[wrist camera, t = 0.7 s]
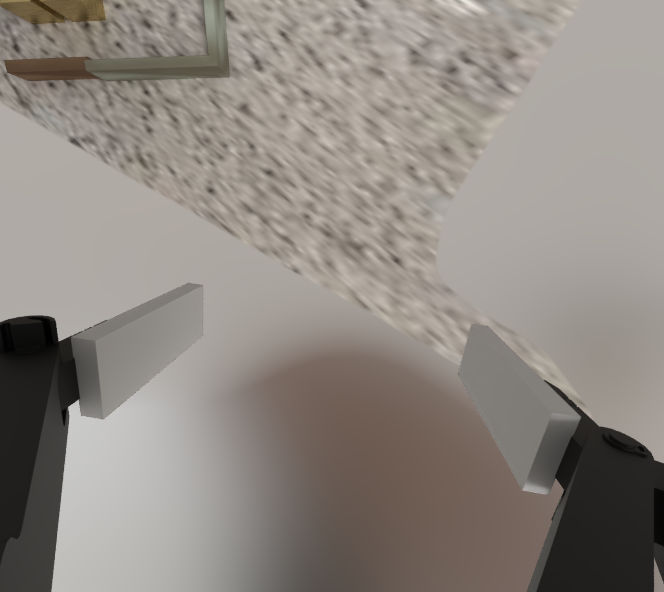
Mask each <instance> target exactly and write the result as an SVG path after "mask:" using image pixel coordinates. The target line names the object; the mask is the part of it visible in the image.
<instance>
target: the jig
mask: <svg viewBox="0 0 664 592" xmlns="http://www.w3.org/2000/svg"><path fill="white" fill-rule="evenodd" d="M203 2H204V13H205V24H206V35H207V47H208V55H201V56H176V57H151V58H125V59H100V60H92V59H90V58H88V57H71V58H46V59H22V60H4V61H5V65H6V69H7V73H10V74H13V75H15V76H18V77H20V78H23V79H26V80H28V81H41V80H70V79H99V78H102V79H104V80H106V81H127V80H157V79H187V78H216V77H230V74H229V61H228V47H227V34H226V21H225V7H224V0H203Z"/></svg>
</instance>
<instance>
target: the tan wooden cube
mask: <svg viewBox="0 0 664 592" xmlns="http://www.w3.org/2000/svg"><path fill="white" fill-rule="evenodd" d="M0 6H1V7H3V8H5V9H7V10H9V11H10V12H12V13H14V14H16V15H18V16H19V17H21V18H23V19H25V20H27V21H28V22H30V23H32V24H43V23H63V22H65V20H64V16H63V15H61V14H60V13H58V12H57V11H55V10H53V9H52V8H50V7H49V6H47V5H46V4H44V3H42V2H41V1H40V0H0Z"/></svg>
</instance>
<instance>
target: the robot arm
mask: <svg viewBox="0 0 664 592" xmlns="http://www.w3.org/2000/svg"><path fill="white" fill-rule="evenodd" d="M202 336H203V285H199V284H192V283H187V284H185V285H183V286H181V287H178V288H176V289H174V290H172V291H170V292H168V293H166V294H163V295H161V296H159V297H157V298H155V299H153V300H150V301H148V302H146V303H144V304H141V305H139V306H137V307H135V308H133V309H131V310H128V311H126V312H124V313H122V314H120V315H118V316H115V317H113V318H111V319H109V320H105V321H103V322H101V323H99V324H97V325H95V326H94V327H90V328H88V329H86V330H84V331H81V332H79V333H77V334H75V335H73V336H70V337H68V338H66V339H64V340H62V341H58V334H57V328H56V321H55V319H54V318H52V317H49V316H24V317H17V318H13V319H8V320H5V321H3V322H0V592H51V589H52V579H53V569H54V560H55V550H56V541H57V530H58V521H59V511H60V502H61V492H62V482H63V472H64V464H65V454H66V445H67V435H68V425H69V411H68V406H70V405H71V404H73V403H74V402H76V401H77V400H79V404H80V412H81V416H87V417H93V418H99V419H105V418H106V417H107V416H108V415H109V414H111V413H112V412H113V411H114V410H115V409H116V408H118V407H119V406H120V405H121V404H122V403H124V402H125V401H126V400H127V399H128V398H130V397H131V396H132V395H133V394H134V393H136V392H137V391H138V390H139V389H140V388H141V387H143V386H144V385H145V384H146V383H148V382H149V381H150V380H151V379H152V378H154V377H155V376H156V375H157V374H158V373H160V372H161V371H162V370H163V369H164V368H165V367H167V366H168V365H169V364H170V363H171V362H173V361H174V360H175V359H176V358H177V357H179V356H180V355H181V354H182V353H183V352H185V351H186V350H187V349H188V348H189V347H190V346H192V345H193V344H194V343H195V342H197V341H198V340H199V339H200V338H201V337H202ZM458 376H459V378H460V379H461V381H462V383H463V385H464V387H465V388H466V390H467V392H468V394H469V395H470V397H471V399H472V401H473V402H474V404H475V406H476V408H477V410H478V412H479V413H480V415H481V417H482V419H483V420H484V422H485V424H486V426H487V428H488V429H489V431H490V433H491V435H492V437H493V438H494V440H495V442H496V444H497V445H498V447H499V449H500V451H501V453H502V455H503V456H504V458H505V460H506V462H507V464H508V465H509V467H510V469H511V471H512V473H513V474H514V476H515V478H516V480H517V481H518V483H519V485H520V487H521V489H522V490H524V491H529V492H536V493H542V494H547V495H548V494H549V493H550V490H551V488H552V486H553V483H554V481H555V479H557V480H558V482H559V483H560V485H561V486H562V487H563V489H564V492H563V494H562V497H561V499H560V501H559V503H558V506H557V508H556V510H555V513H554V515H553V517H552V524H551V526H550V529H549V532H548V535H547V538H546V540H545V543H544V546H543V548H542V551H541V554H540V557H539V559H538V562H537V565H536V568H535V571H534V573H533V576H532V579H531V582H530V584H529V587H528V590H527V592H654V558H655V561H656V563H657V566H658V569H659V572H660V574H661V577H662V580H663V582H664V463H661V462H658V461H655V460H654V458H653V456H652V453H651V452H650V451H649V450H648V449H647V448H646V447H645V446H644V445H642V444H641V443H639V442H638V441H636V440H635V439H633V438H631V437H629V436H627V435H625V434H623V433H621V432H618V431H616V430H613V429H610V428H606V427H599V426H598V425H597V424H596V423H595V422H594V421H593V420H592V419H591V418H590V417H589V416H587V415H586V414H585V413H584V412H583V411H582V410H581V409H580V408H579V407H577V405H576V404H575V403H574V402H573V401H572V400H570V399H569V398H568V397H567V396H566V395H565V394H564V393H563V392H562V391H561V390H560V389H559V388H557V387H555V386H554V385H552V384H551V383H549V382H547V381H546V380H543V379H542V378H541V377H540V376H539V375H538V374H537V373H536V372H535V371H534V370H533V369H531V368H530V367H529V366H528V365H527V364H526V363H525V362H524V361H523V360H522V359H521V358H520V357H519V356H518V355H517V354H516V353H515V352H514V351H513V350H512V349H511V348H510V347H509V346H508V345H507V344H506V343H505V342H504V341H503V340H502V339H501V338H500V337H499V336H498V335H497V334H496V333H495V332H494V331H493V330H491V329H490V328H489V327H488V326H484V325H477V324H471V328H470V332H469V335H468V339H467V343H466V346H465V350H464V354H463V358H462V361H461V365H460V369H459V372H458Z"/></svg>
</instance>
